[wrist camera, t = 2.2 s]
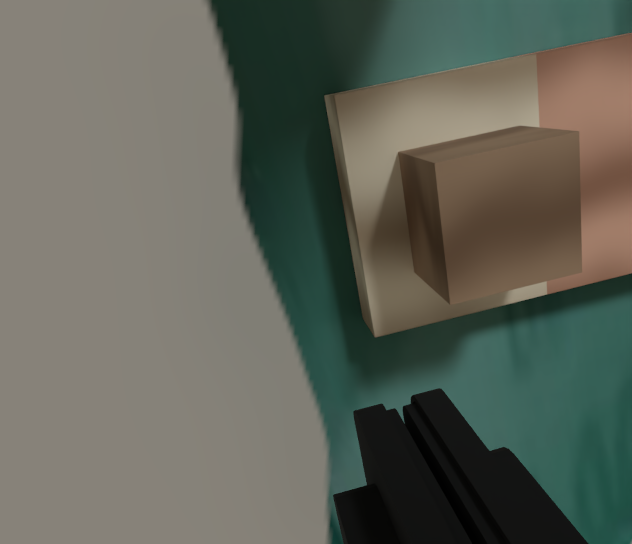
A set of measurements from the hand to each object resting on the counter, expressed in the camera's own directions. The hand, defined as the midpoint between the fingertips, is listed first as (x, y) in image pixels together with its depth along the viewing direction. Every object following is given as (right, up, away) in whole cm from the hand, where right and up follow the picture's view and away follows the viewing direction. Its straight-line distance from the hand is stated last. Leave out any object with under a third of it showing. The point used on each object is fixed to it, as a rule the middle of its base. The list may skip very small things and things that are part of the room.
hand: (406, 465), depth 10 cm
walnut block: (+6, +7, +16) cm, 18 cm away
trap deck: (+13, +10, +19) cm, 25 cm away
